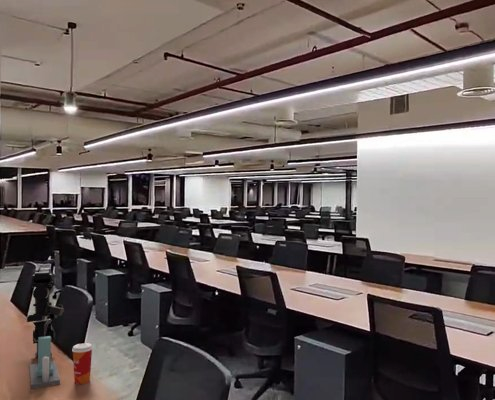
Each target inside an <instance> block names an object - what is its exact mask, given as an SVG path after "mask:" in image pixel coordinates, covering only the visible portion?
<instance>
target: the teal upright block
mask: <svg viewBox="0 0 495 400" xmlns="http://www.w3.org/2000/svg"><path fill="white" fill-rule="evenodd" d="M51 338H52V337H50V336H45V337H38V358H37V359H38V360H37V361H38V363H37V364H38V367H36V376H37V377H38V376H42V358H43V357H44V356H47V357H49V375H51V374H53V366H52V365H51V362H52V357H51V356H52V355H51V354H52V344H51V343H52V342H51Z"/></svg>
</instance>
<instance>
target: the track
mask: <svg viewBox="0 0 495 400" xmlns="http://www.w3.org/2000/svg"><path fill="white" fill-rule="evenodd" d="M51 365H52V366H53V374H51V375H49V357H47V356H44V357H43V358H42V376H38V377H37V376H36V367H38V363H33V364H29V373H30V374H29V376H30V388H31V389H39V388H44V387H50V386H56V385H60V384H61V379H60V375H59V369H58V365H57V362H56V360H53V361H52V360H51Z"/></svg>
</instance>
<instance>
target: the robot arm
mask: <svg viewBox="0 0 495 400" xmlns="http://www.w3.org/2000/svg"><path fill="white" fill-rule="evenodd" d="M31 279H32V280H31V281H32V282H31V288H34V290H33V292H32V296H33V298H34V303H33V305H32V306H33V307H34V311H35V312H34V313H33V314H29V315H28V316H27V317H26V323H32V324H33V325H34V330H33V331H32V341H33V342H32V343H33V344H36V352H35V358H37V359H38V337H45V336H50V337H51V343H52V342H54V341H56V331H55V330H54V328H53V325H52V321H53V319H57V318H58V317H59V316H61V317H62V316H63V313H64V312H65V308H64V305H63V304H58V305H52V302H50V300H51V299H50V297H51V294H52V293H53V292H54V287H55V286H56V274H55V273H54V272H52V268H50V267H44V268H42V267H41V268H39V270H38V271H36V272H34V274H32V278H31ZM51 356H52V353H51Z"/></svg>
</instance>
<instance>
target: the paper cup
mask: <svg viewBox="0 0 495 400" xmlns="http://www.w3.org/2000/svg"><path fill="white" fill-rule="evenodd" d="M71 351H72V360H73V377H74V384H76V385H84V384H85V385H86V384H88V383H89V382H90V381H91V372H92V369H91V368H92V357H93V355H92V354H93V345H92V344H91V343H89V342H88V343H87V342H86V343H84V342H83V343H77V344H75V345H73V346H72V350H71Z"/></svg>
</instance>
